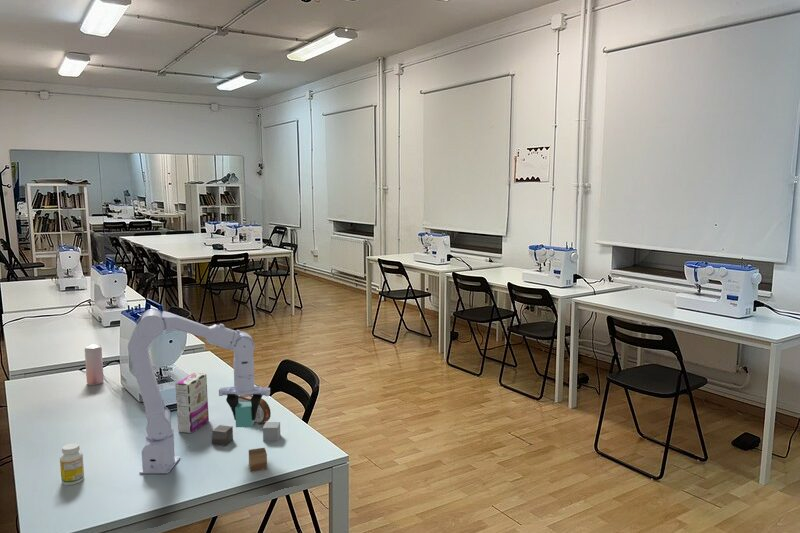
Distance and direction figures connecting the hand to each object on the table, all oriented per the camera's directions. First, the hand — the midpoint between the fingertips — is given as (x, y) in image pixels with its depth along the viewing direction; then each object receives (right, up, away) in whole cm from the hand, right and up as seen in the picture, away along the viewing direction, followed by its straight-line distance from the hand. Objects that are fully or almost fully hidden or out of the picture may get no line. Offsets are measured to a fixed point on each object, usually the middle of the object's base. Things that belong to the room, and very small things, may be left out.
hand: (245, 418), depth 174 cm
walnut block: (+6, -12, -7) cm, 15 cm away
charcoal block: (-9, -9, +8) cm, 16 cm away
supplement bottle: (-42, -13, -16) cm, 47 cm away
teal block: (0, -2, 0) cm, 2 cm away
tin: (-4, -7, +25) cm, 27 cm away
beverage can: (-76, -2, +61) cm, 97 cm away
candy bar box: (-22, -8, +20) cm, 31 cm away
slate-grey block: (+5, -9, +11) cm, 16 cm away
